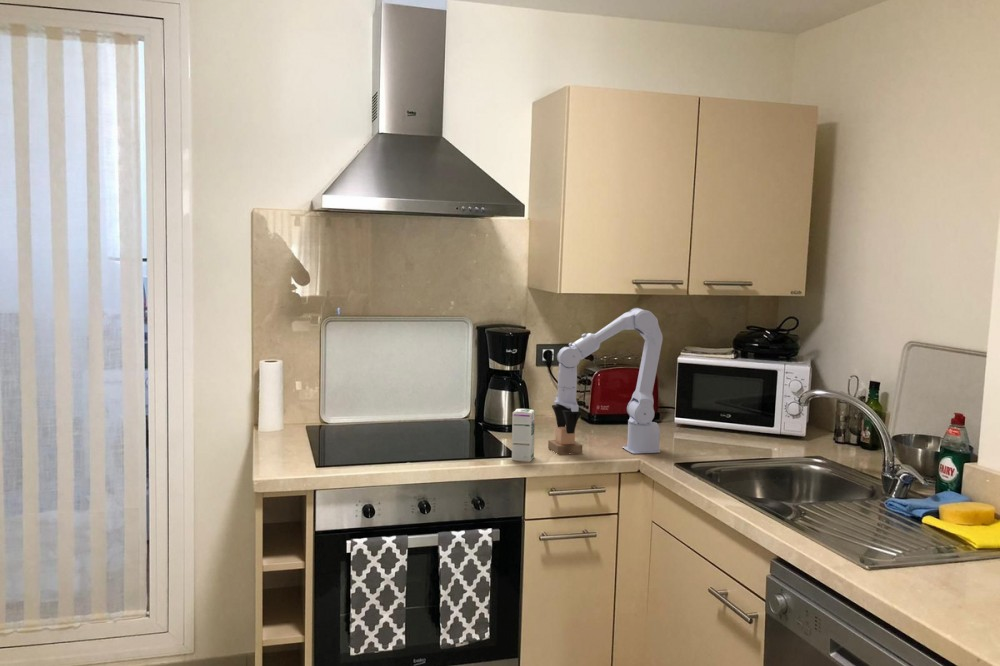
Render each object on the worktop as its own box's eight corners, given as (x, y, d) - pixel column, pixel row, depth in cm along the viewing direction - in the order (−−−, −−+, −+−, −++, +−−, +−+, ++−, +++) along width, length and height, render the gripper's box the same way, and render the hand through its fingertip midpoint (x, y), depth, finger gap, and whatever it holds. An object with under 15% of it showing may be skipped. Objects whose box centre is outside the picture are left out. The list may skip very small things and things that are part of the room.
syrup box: (530, 462, 241) (532, 412, 240) (510, 460, 243) (512, 411, 241) (534, 457, 247) (535, 409, 246) (514, 455, 248) (515, 407, 247)
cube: (568, 440, 259) (569, 426, 258) (574, 443, 254) (575, 429, 254) (555, 441, 257) (555, 427, 257) (560, 444, 253) (561, 430, 252)
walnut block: (572, 448, 261) (572, 439, 261) (581, 454, 254) (582, 445, 253) (548, 449, 259) (548, 440, 258) (557, 456, 251) (557, 446, 251)
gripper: (546, 383, 260) (545, 425, 261) (563, 391, 246) (562, 436, 247) (567, 382, 262) (566, 425, 263) (585, 390, 248) (584, 435, 249)
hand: (565, 430), depth 255 cm, fingers open, 7 cm apart
